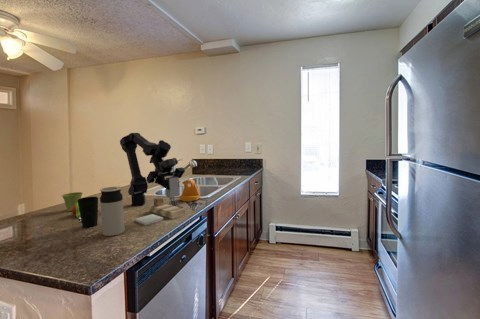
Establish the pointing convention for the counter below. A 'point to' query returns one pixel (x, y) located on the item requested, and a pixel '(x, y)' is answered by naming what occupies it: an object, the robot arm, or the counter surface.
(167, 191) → the lever cap
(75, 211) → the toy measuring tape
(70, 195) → the plant pot
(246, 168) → the counter surface
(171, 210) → the body
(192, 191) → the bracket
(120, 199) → the travel mug
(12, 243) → the counter surface
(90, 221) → the cup
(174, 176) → the robot arm
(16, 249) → the counter surface
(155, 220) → the sage mat
